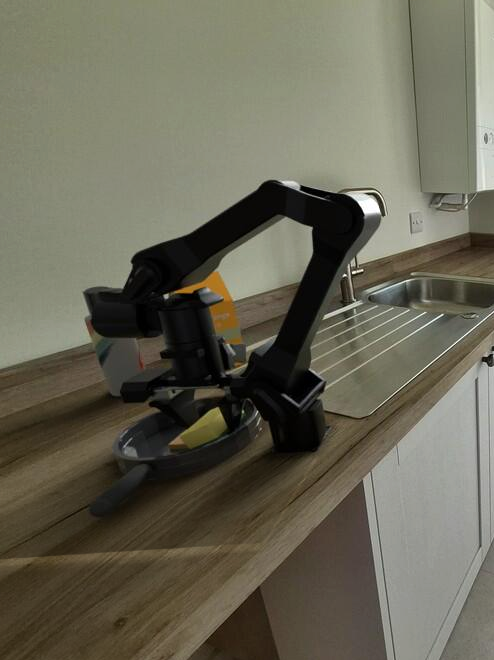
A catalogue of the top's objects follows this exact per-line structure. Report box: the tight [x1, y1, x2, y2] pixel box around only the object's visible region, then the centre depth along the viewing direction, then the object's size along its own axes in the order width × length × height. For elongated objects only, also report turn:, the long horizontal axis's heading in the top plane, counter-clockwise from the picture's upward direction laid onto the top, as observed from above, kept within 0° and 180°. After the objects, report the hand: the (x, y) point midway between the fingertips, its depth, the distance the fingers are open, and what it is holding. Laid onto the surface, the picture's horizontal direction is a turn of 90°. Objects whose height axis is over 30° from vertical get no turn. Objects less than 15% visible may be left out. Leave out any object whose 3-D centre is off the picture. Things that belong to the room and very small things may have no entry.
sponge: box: [179, 407, 246, 450], centre depth 61 cm, size 7×4×3 cm, turn 4°
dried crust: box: [168, 430, 188, 449], centre depth 61 cm, size 4×4×1 cm
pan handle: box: [88, 464, 153, 518], centre depth 49 cm, size 2×8×2 cm, turn 4°
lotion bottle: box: [82, 285, 147, 397], centre depth 75 cm, size 6×6×20 cm
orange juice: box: [167, 270, 248, 367], centre depth 85 cm, size 8×9×20 cm
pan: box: [111, 394, 263, 481], centre depth 61 cm, size 17×17×4 cm
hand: (217, 433), depth 61 cm, fingers closed on sponge, 5 cm apart
